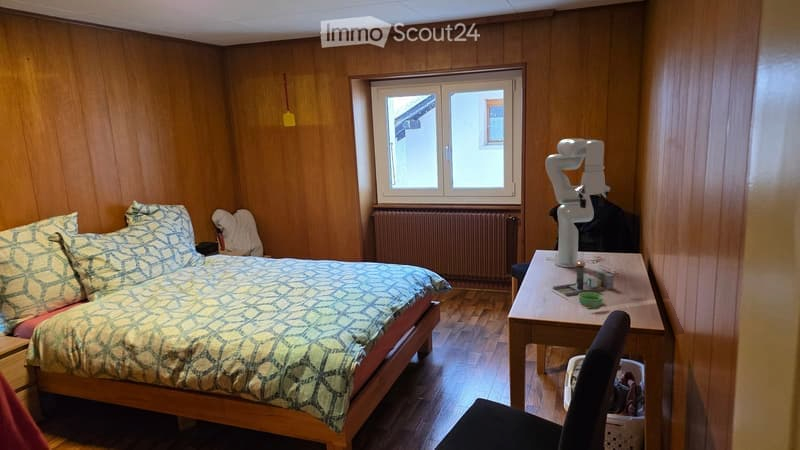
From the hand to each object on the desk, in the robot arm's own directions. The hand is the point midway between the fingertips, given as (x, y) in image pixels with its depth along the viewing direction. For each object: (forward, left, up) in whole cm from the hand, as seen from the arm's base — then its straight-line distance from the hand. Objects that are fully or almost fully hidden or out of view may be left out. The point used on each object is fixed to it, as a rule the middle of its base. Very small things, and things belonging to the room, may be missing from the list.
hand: (592, 207), depth 223 cm
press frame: (+14, -12, -34) cm, 39 cm away
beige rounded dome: (+14, -7, -33) cm, 36 cm away
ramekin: (+29, -21, -35) cm, 50 cm away
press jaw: (+14, -14, -32) cm, 38 cm away
